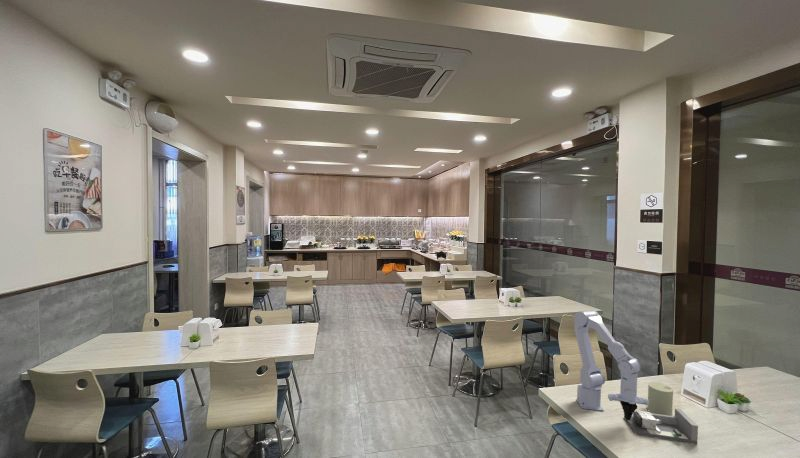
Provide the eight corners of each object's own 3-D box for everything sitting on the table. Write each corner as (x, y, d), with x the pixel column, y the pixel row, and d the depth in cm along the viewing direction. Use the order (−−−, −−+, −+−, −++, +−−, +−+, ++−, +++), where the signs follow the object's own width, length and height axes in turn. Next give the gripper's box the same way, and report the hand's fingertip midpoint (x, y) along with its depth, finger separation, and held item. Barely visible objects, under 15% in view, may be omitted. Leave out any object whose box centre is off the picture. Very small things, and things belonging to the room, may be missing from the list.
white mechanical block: (643, 432, 135) (643, 422, 135) (633, 419, 144) (633, 409, 144) (669, 436, 133) (669, 426, 132) (657, 422, 142) (657, 413, 142)
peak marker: (677, 436, 132) (677, 433, 132) (673, 431, 135) (673, 428, 135) (681, 436, 132) (681, 434, 132) (676, 431, 135) (676, 429, 135)
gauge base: (636, 434, 136) (636, 417, 136) (624, 417, 148) (624, 401, 147) (697, 444, 131) (698, 425, 131) (679, 425, 142) (680, 409, 142)
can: (677, 418, 147) (678, 392, 147) (653, 416, 149) (654, 389, 149) (665, 407, 156) (666, 382, 156) (643, 404, 158) (644, 379, 158)
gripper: (612, 389, 139) (611, 421, 140) (653, 394, 136) (651, 427, 136) (606, 381, 146) (605, 412, 147) (644, 386, 143) (643, 417, 143)
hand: (627, 418), depth 142 cm, fingers closed
